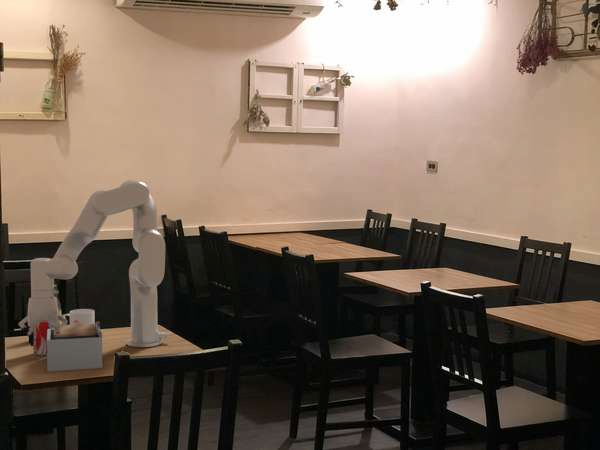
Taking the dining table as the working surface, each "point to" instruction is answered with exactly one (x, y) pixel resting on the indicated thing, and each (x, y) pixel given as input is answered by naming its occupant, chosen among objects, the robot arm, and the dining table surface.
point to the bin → (74, 351)
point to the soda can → (41, 337)
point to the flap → (74, 330)
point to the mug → (81, 316)
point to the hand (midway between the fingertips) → (43, 344)
